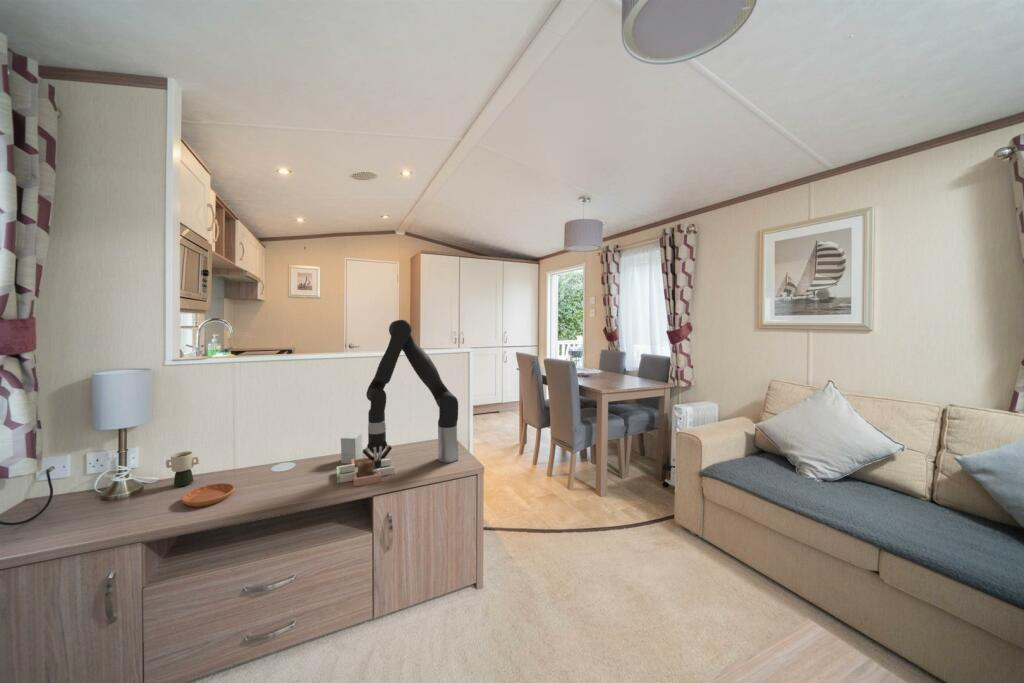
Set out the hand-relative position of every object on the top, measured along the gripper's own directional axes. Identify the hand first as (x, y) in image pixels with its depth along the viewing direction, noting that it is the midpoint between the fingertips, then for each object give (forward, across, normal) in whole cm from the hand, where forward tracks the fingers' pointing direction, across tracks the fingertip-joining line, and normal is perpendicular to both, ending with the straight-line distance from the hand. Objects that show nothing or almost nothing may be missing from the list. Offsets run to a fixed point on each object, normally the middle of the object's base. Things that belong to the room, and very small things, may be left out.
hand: (377, 467), depth 175 cm
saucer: (+2, +62, 0) cm, 62 cm away
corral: (+2, +5, 0) cm, 5 cm away
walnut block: (+2, +5, 0) cm, 6 cm away
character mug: (+2, +75, -19) cm, 77 cm away
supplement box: (+2, +10, -18) cm, 21 cm away
